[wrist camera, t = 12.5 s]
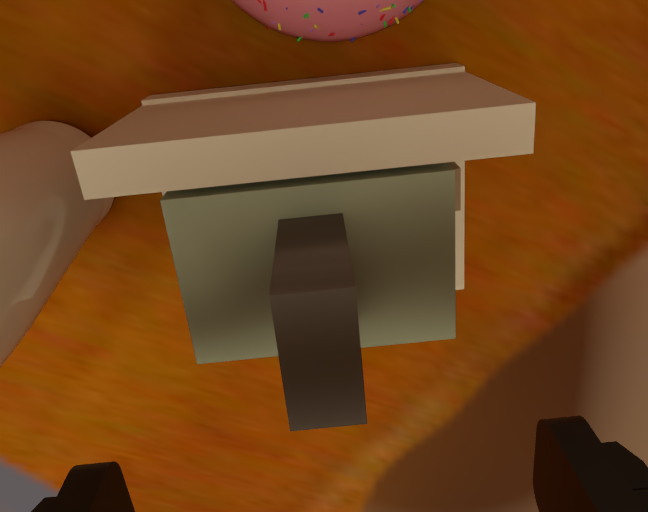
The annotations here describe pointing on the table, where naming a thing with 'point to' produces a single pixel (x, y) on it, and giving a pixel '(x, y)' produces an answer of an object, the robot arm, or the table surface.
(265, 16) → the doughnut
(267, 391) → the table surface
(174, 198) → the olive boxy piece
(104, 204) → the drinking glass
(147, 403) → the table surface
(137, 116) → the stand
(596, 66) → the table surface
